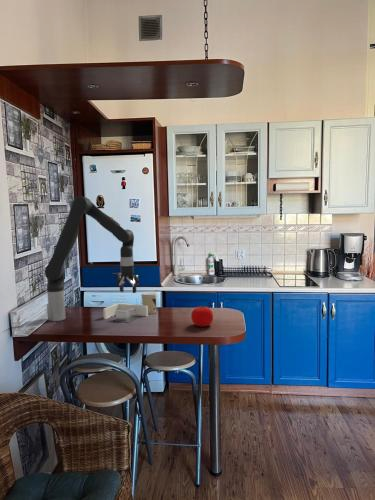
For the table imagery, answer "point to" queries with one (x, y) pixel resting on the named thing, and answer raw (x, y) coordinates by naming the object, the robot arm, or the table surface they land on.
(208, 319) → the tomato
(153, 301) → the coffee cup
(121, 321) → the mat
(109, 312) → the corner wall
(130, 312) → the bracket
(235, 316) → the table surface
